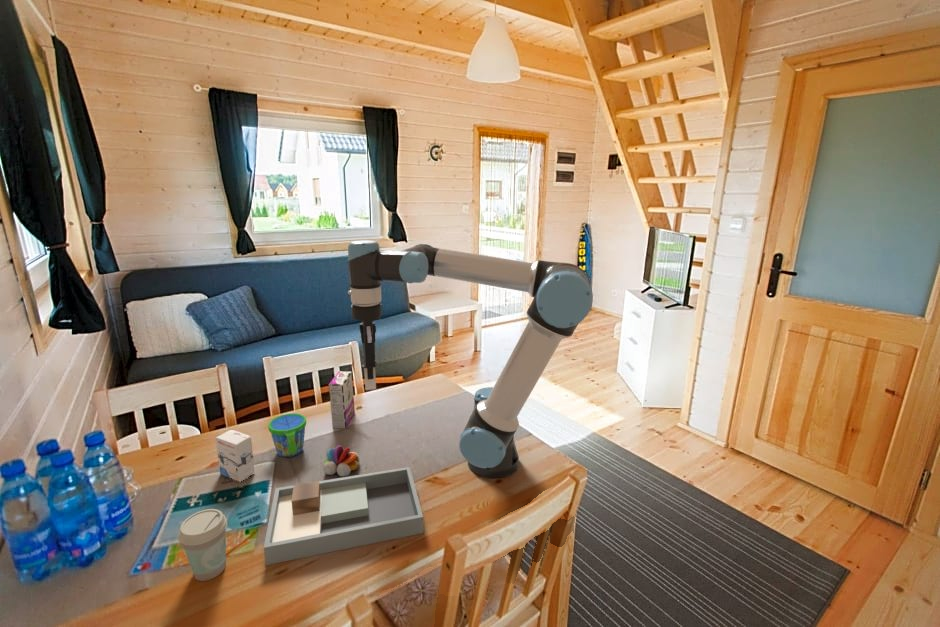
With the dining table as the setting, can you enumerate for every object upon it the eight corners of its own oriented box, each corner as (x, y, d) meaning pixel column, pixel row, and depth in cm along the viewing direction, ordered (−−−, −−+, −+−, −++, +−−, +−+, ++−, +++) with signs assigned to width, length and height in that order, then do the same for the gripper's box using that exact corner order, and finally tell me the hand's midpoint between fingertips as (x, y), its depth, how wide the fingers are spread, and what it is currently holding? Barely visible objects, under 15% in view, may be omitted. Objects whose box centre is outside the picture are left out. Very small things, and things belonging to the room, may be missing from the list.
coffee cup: (200, 594, 87) (190, 543, 83) (178, 574, 91) (168, 526, 88) (241, 564, 94) (234, 517, 90) (219, 547, 98) (211, 501, 95)
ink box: (219, 474, 123) (213, 437, 120) (235, 465, 127) (230, 428, 124) (241, 483, 119) (235, 445, 116) (256, 473, 124) (251, 436, 121)
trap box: (410, 481, 121) (409, 466, 120) (423, 533, 103) (423, 516, 102) (277, 503, 112) (275, 488, 111) (265, 565, 93) (263, 547, 92)
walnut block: (320, 494, 112) (319, 481, 110) (319, 510, 106) (318, 496, 105) (295, 499, 110) (293, 485, 109) (293, 515, 104) (291, 501, 103)
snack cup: (310, 461, 129) (307, 430, 127) (271, 469, 125) (267, 438, 123) (307, 435, 143) (304, 407, 141) (272, 441, 139) (268, 412, 137)
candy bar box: (341, 412, 158) (338, 370, 154) (355, 413, 158) (352, 370, 154) (331, 429, 147) (328, 384, 143) (346, 429, 147) (343, 384, 143)
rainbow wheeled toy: (350, 480, 121) (349, 457, 119) (318, 476, 123) (316, 453, 121) (364, 463, 129) (362, 441, 127) (333, 458, 131) (332, 437, 129)
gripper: (349, 297, 116) (355, 380, 122) (352, 310, 104) (357, 400, 110) (378, 296, 118) (382, 377, 124) (384, 308, 106) (387, 397, 112)
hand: (370, 388), depth 117 cm, fingers closed
